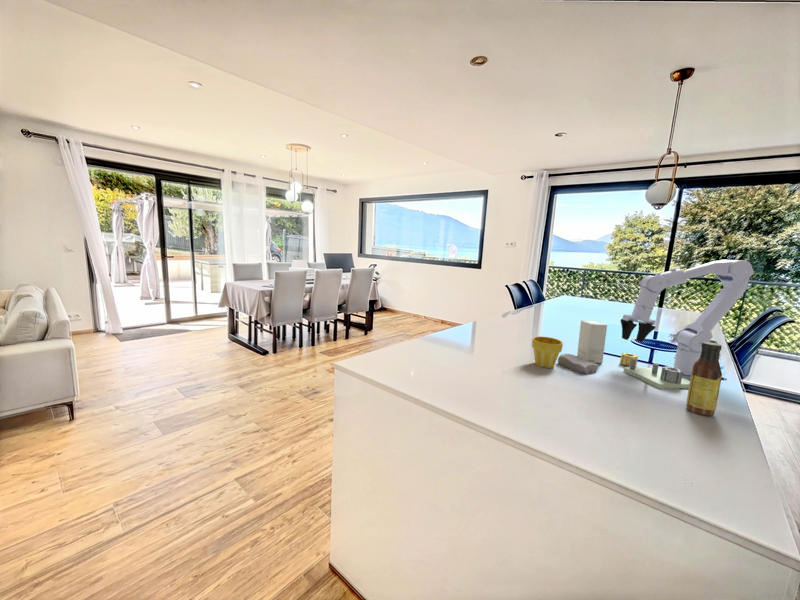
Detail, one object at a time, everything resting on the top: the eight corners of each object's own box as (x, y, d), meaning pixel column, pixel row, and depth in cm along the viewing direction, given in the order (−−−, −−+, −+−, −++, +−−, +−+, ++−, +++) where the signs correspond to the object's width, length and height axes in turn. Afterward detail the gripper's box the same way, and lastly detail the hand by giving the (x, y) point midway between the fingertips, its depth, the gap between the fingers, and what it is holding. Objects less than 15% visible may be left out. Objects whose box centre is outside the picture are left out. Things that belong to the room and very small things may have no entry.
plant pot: (540, 370, 121) (543, 344, 119) (524, 360, 131) (527, 336, 129) (565, 369, 123) (569, 344, 122) (548, 360, 133) (551, 336, 132)
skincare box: (602, 363, 132) (608, 325, 130) (585, 362, 132) (591, 324, 130) (591, 356, 141) (596, 320, 138) (575, 355, 141) (580, 319, 138)
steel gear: (664, 376, 117) (667, 365, 117) (683, 382, 113) (685, 370, 112) (657, 378, 115) (659, 367, 114) (676, 384, 110) (678, 373, 110)
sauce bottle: (720, 418, 92) (736, 348, 88) (693, 415, 93) (708, 345, 89) (703, 407, 98) (718, 341, 95) (679, 404, 99) (692, 339, 96)
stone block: (571, 365, 134) (554, 363, 130) (574, 354, 134) (558, 351, 129) (599, 377, 123) (581, 375, 119) (603, 365, 123) (586, 363, 118)
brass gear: (628, 362, 136) (630, 352, 135) (639, 367, 131) (641, 357, 130) (616, 362, 135) (618, 352, 134) (627, 367, 130) (629, 357, 129)
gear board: (657, 371, 127) (659, 356, 126) (696, 388, 112) (699, 371, 111) (623, 371, 125) (626, 355, 124) (658, 388, 110) (662, 371, 109)
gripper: (648, 306, 134) (636, 338, 136) (620, 301, 130) (609, 334, 132) (665, 311, 127) (653, 344, 130) (637, 306, 123) (624, 340, 126)
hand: (632, 340), depth 131 cm, fingers open, 7 cm apart
